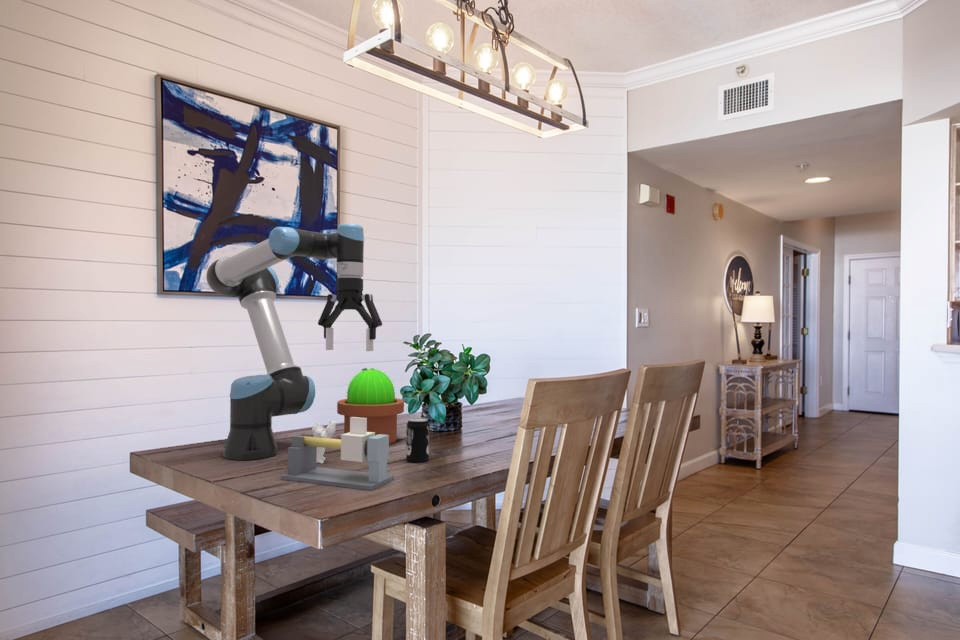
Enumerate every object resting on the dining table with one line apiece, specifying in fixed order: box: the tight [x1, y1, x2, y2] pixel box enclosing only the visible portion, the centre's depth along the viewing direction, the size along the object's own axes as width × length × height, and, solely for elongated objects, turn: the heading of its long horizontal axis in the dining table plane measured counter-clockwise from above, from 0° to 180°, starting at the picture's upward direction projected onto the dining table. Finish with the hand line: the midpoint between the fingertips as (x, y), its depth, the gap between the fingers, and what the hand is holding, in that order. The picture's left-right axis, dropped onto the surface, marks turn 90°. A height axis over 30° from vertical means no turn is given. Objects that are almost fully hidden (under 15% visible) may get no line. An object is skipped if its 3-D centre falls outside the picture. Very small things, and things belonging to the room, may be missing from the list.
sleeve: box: [340, 417, 375, 463], centre depth 153 cm, size 6×6×10 cm
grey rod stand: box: [281, 432, 395, 491], centre depth 155 cm, size 26×11×12 cm, turn 69°
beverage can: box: [405, 417, 430, 464], centre depth 177 cm, size 7×7×12 cm
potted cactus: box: [336, 367, 405, 445], centre depth 204 cm, size 22×22×25 cm
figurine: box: [311, 419, 338, 464], centre depth 175 cm, size 10×5×12 cm, turn 52°
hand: (349, 350), depth 177 cm, fingers open, 13 cm apart
